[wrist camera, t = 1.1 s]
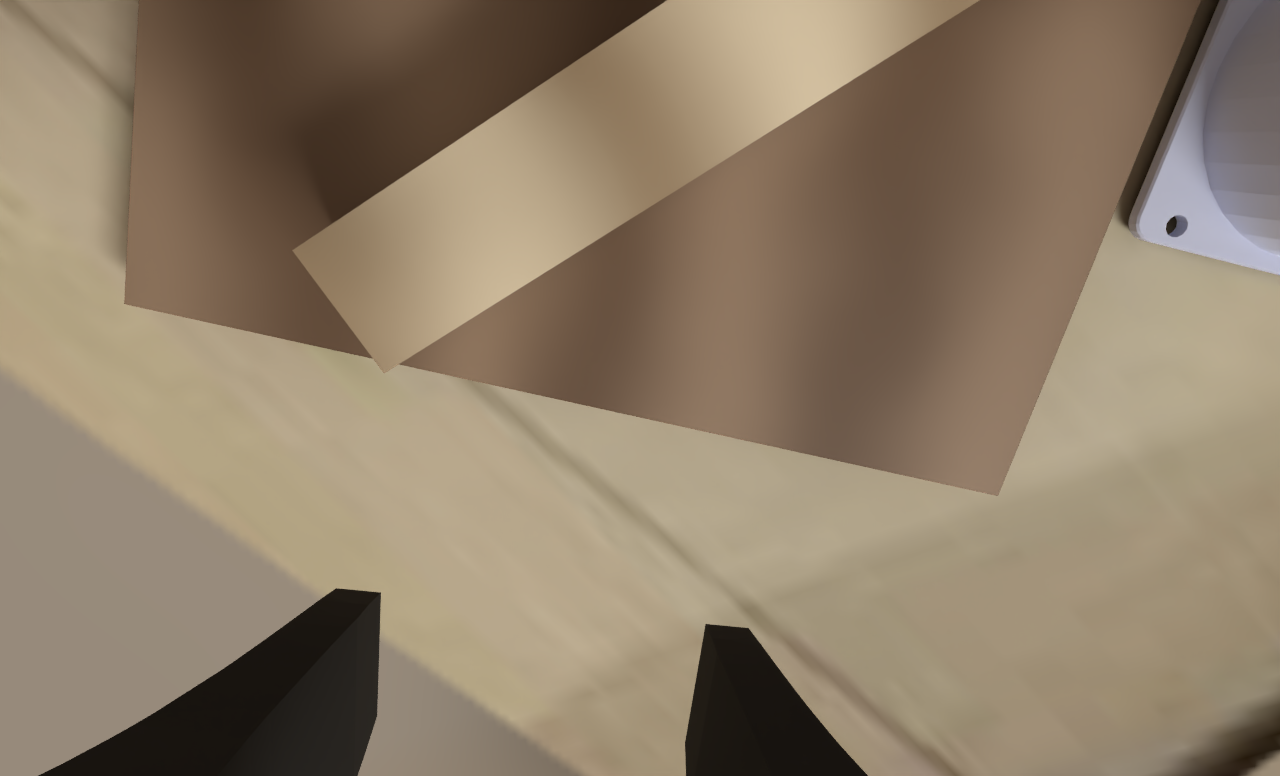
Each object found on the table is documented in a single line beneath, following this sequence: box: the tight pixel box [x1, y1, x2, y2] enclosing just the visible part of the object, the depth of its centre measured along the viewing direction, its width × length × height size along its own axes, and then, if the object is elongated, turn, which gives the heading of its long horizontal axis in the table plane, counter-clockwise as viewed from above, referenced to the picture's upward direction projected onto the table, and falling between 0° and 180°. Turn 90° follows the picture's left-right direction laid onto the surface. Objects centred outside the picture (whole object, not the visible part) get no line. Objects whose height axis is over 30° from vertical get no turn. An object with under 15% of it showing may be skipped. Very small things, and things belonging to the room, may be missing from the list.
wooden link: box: [292, 0, 979, 373], centre depth 15 cm, size 18×4×5 cm, turn 121°
